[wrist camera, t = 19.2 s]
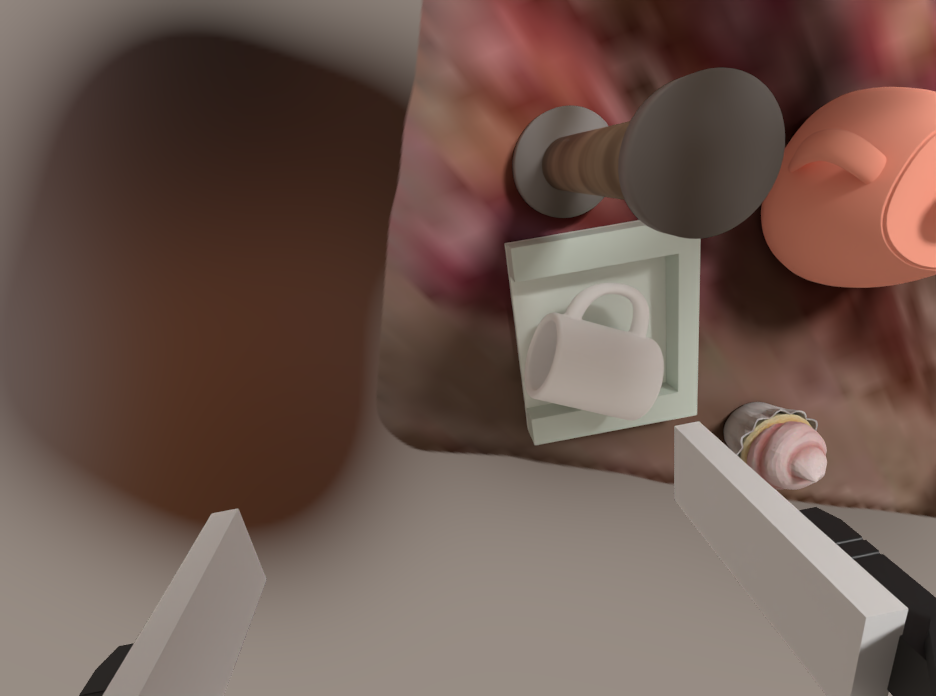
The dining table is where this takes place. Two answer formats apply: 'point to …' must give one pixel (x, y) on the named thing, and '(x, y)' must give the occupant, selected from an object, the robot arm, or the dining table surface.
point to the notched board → (610, 311)
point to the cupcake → (777, 444)
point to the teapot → (859, 191)
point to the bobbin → (661, 156)
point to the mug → (596, 359)
